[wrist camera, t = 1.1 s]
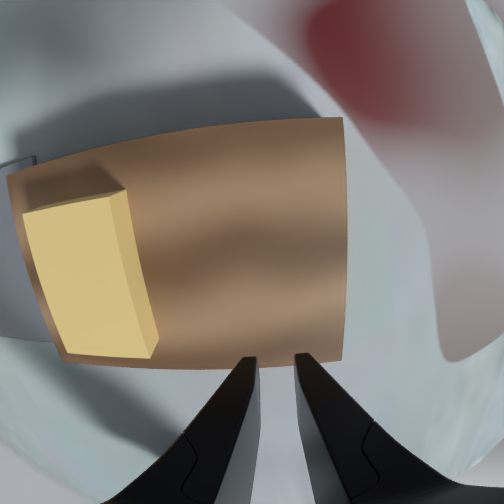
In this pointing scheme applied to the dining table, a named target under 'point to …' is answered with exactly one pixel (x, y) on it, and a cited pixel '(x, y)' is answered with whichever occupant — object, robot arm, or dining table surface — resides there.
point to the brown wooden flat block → (220, 237)
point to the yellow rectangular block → (93, 275)
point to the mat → (16, 274)
